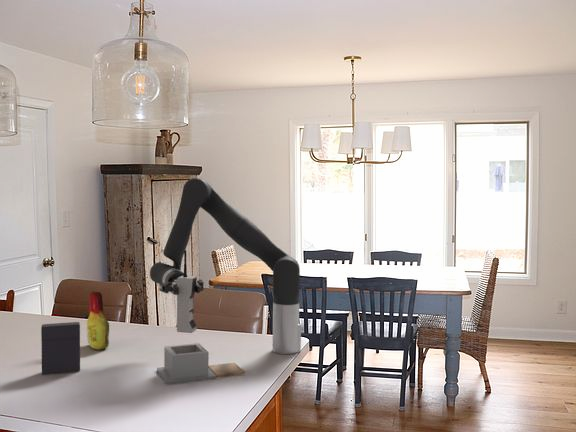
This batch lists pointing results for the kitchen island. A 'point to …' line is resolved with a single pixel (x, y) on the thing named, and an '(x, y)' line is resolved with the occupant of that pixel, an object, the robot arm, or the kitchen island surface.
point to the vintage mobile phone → (186, 301)
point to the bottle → (97, 323)
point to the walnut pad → (226, 370)
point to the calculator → (60, 348)
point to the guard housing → (185, 364)
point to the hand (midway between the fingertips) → (188, 290)
